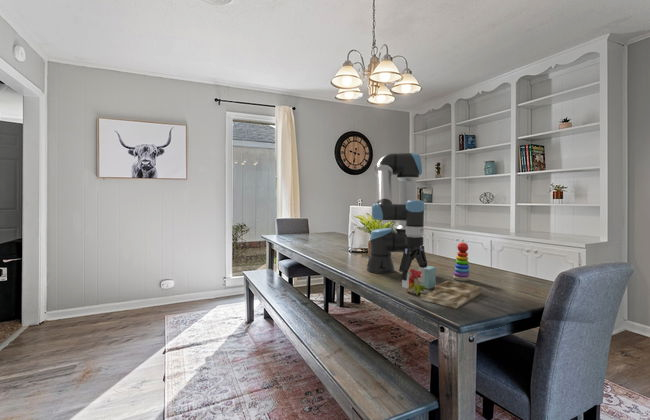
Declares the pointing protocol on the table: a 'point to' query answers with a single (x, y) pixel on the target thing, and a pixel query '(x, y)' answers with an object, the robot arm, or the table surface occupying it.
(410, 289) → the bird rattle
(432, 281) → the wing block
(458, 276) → the stacking toy
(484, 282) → the table surface
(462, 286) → the jig
